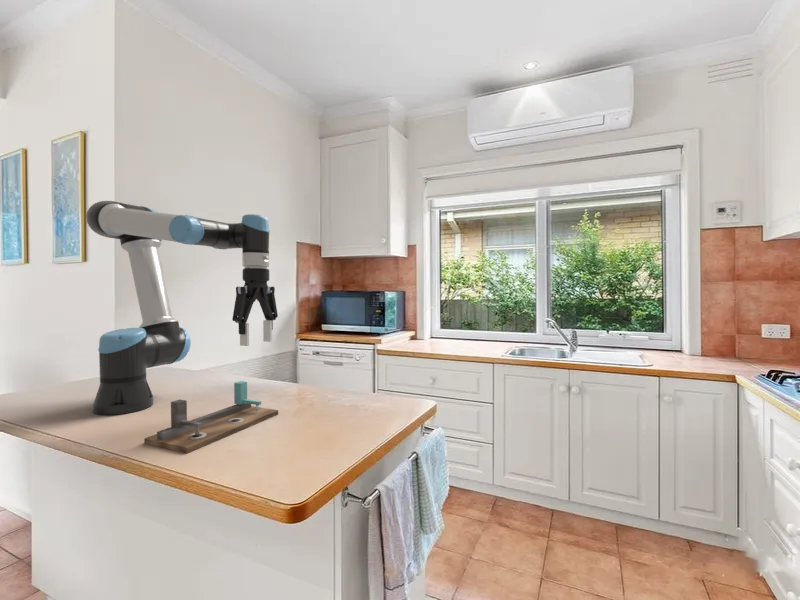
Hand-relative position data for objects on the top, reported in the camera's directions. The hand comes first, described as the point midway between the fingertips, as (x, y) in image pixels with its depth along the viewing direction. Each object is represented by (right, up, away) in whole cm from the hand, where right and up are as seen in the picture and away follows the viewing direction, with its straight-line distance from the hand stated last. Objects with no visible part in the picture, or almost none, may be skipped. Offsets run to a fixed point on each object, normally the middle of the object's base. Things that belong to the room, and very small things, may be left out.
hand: (256, 343), depth 124 cm
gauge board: (-4, -20, -17) cm, 26 cm away
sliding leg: (0, -18, -6) cm, 19 cm away
